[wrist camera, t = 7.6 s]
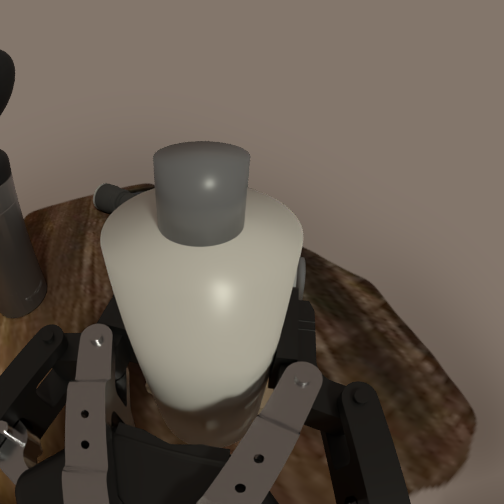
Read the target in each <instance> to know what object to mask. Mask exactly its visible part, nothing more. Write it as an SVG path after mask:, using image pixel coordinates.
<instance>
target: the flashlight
mask: <svg viewBox="0 0 504 504" xmlns="http://www.w3.org/2000/svg"><path fill="white" fill-rule="evenodd" d="M134 196H136V195H134V194H131V193H129V191H127V190H124V189H121V188H119V187H118V186H115V185H111V184H107V183H103V184H101V185H100V186H99V187H98V188H97V189H96V191H95V193H94V197H93V202H94V205H95V207H96V208H97V209H99V210H101V211H104V212H107V213H112V212H113V211H114V210H116V209H117V208H118V207H119V206H120V205H122V204H123V203H124V202H126V201H127V200H129V199H131V198H133V197H134Z"/></svg>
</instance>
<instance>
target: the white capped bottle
mask: <svg viewBox="0 0 504 504" xmlns="http://www.w3.org/2000/svg"><path fill="white" fill-rule="evenodd" d="M153 161H154V180H155V188H154V189H151V190H148V191H146V192H143V193H141V194H139V195H136V196H134V197H133V198H131V199H129V200H127V201H126V202H124V203H123V204H122V205H120V206H119V207H118V208H117V209H116V210H114V211H113V212H112V214H111V215H110V216H109V217H108V219H107V220H106V222H105V224H104V226H103V229H102V231H101V238H100V240H101V248H102V252H103V256H104V260H105V264H106V268H107V271H108V275H109V278H110V282H111V285H112V289H113V292H114V295H115V299H116V302H117V305H118V308H119V311H120V314H121V317H122V320H123V323H124V326H125V329H126V331H127V334H128V337H129V340H130V342H131V345H132V348H133V350H134V353H135V355H136V358H137V360H138V363H139V365H140V368H141V370H142V372H143V375H144V377H145V380H146V382H147V384H148V386H149V389H150V391H151V393H152V395H153V397H154V400H155V402H156V404H157V406H158V408H159V410H160V412H161V414H162V416H163V418H164V420H165V422H166V424H167V426H168V427H169V428H170V430H171V431H172V432H173V433H174V434H175V435H176V436H177V437H179V438H180V439H181V440H183V441H185V442H186V443H189V444H191V445H192V444H202V445H207V446H212V447H218V448H220V447H225V446H228V445H231V444H233V443H235V442H237V441H239V440H240V439H242V438H243V437H244V435H245V434H246V432H247V431H248V429H249V427H250V426H251V424H252V423H253V421H254V420H255V418H256V417H257V416H258V412H259V409H260V406H261V402H262V399H263V396H264V392H265V389H266V385H267V382H268V378H269V374H270V371H271V367H272V363H273V360H274V356H275V352H276V349H277V345H278V342H279V339H280V335H281V331H282V327H283V324H284V320H285V316H286V312H287V308H288V304H289V300H290V296H291V292H292V288H293V284H294V279H295V275H296V271H297V267H298V263H299V258H300V254H301V249H302V245H303V230H302V227H301V224H300V222H299V220H298V219H297V217H296V216H295V214H294V213H293V212H292V211H291V210H290V209H289V208H288V207H287V206H285V205H284V204H283V203H281V202H280V201H278V200H276V199H275V198H273V197H271V196H269V195H267V194H265V193H262V192H260V191H257V190H254V189H251V188H248V176H249V165H250V154H249V153H248V152H247V151H246V150H244V149H243V148H240V147H238V146H235V145H231V144H226V143H220V142H209V141H197V142H185V143H179V144H174V145H170V146H167V147H164V148H162V149H160V150H158V151H157V152H156V153H155V154H154V156H153Z"/></svg>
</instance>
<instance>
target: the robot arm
mask: <svg viewBox="0 0 504 504" xmlns="http://www.w3.org/2000/svg"><path fill="white" fill-rule="evenodd" d="M14 81H15V67H14V63H13V60H12V59H11V57H10V56H9V55H8V54H7V53H6V52H4V51H2V50H0V115H1V114H2V112H3V111H4V109H5V107H6V105H7V103H8V101H9V99H10V96H11V94H12V90H13V86H14ZM46 291H47V283H46V281H45V279H44V276H43V274H42V271H41V269H40V266H39V263H38V261H37V258H36V255H35V252H34V250H33V247H32V244H31V241H30V238H29V235H28V232H27V229H26V226H25V223H24V219H23V216H22V213H21V209H20V205H19V202H18V198H17V194H16V190H15V186H14V182H13V177H12V173H11V168H10V163H9V158H8V156H7V154H6V153H5V152H4V151H2V150H1V149H0V313H1V314H2V315H4V316H6V317H8V318H18V317H22V316H24V315H26V314H28V313H30V312H31V311H33V310H34V309H35V308H36V307H37V306H38V305H39V304H40V303H41V302H42V300H43V298H44V297H45V294H46ZM129 361H130V362H134V363H138V360H137V358H136V355H135V353H134V350H133V348H132V345H131V342H130V340H129V337H128V334H127V331H126V329H125V326H124V323H123V320H122V317H121V314H120V311H119V308H118V305H117V302H116V299H115V295H113V298H111V300H110V302H109V303H108V305H107V307H106V309H105V310H104V312H103V314H102V315H101V317H100V319H99V320H98V322H97V324H93V325H91V326H89V327H87V328H86V329H85V330H84V331H83V332H82V333H63V331H62V329H61V328H60V327H59V326H57V325H47V326H45V327H43V328H42V329H40V330H39V332H38V333H37V334H36V335H35V336H34V337H33V338H32V339H31V340H30V341H29V343H28V344H27V345H26V346H25V347H24V348H23V349H22V351H21V352H20V353H19V354H18V355H17V356H16V358H15V359H14V360H13V361H12V362H11V363H10V365H9V366H8V367H7V368H6V369H5V371H4V372H3V373H2V374H1V376H0V468H1V470H2V471H3V472H4V473H5V474H6V475H7V476H8V477H9V478H10V480H11V481H12V482H13V483H14V484H15V485H16V487H15V496H16V501H17V504H279V503H278V502H277V501H276V499H275V498H274V496H273V495H272V494H271V492H270V491H269V490H270V489H271V487H272V485H273V483H274V482H275V480H276V478H277V477H278V475H279V473H280V471H281V469H282V468H283V466H284V464H285V462H286V460H287V459H288V457H289V455H290V453H291V451H292V449H293V447H294V445H295V443H296V441H297V439H298V437H299V435H300V431H301V428H302V426H303V424H304V425H307V426H309V427H312V428H315V429H317V430H320V431H321V436H322V440H323V444H324V449H325V453H326V458H327V462H328V467H329V471H330V476H331V480H332V485H333V490H334V494H335V499H336V504H411V503H410V499H409V495H408V491H407V488H406V484H405V480H404V477H403V473H402V470H401V467H400V463H399V460H398V457H397V453H396V450H395V447H394V444H393V440H392V437H391V434H390V431H389V428H388V425H387V422H386V419H385V416H384V413H383V410H382V407H381V404H380V402H379V399H378V396H377V393H376V391H375V390H374V389H373V388H372V387H371V386H370V385H369V384H367V383H364V382H352V383H350V384H348V385H347V386H344V385H341V384H339V383H336V382H333V381H331V380H329V379H327V378H326V377H324V376H323V375H322V374H321V372H320V371H319V369H318V367H317V364H316V338H315V314H314V309H313V308H312V306H311V304H310V302H309V301H303V300H299V288H298V287H293V288H292V292H291V296H290V300H289V304H288V308H287V312H286V316H285V320H284V324H283V327H282V331H281V335H280V339H279V342H278V345H277V349H276V352H275V356H274V360H273V363H272V367H271V371H270V374H269V378H268V388H270V389H273V393H272V394H271V396H270V398H269V399H268V401H267V403H266V404H265V406H264V408H263V409H262V411H261V413H260V414H258V416H257V417H256V418H255V420H254V421H253V423H252V424H251V426H250V427H249V429H248V431H247V432H246V434H245V435H244V437H243V438H242V440H241V442H240V443H239V445H238V446H237V448H236V449H235V451H234V452H233V454H232V455H230V449H224V448H218V447H212V446H207V445H202V444H192V445H176V444H169V443H166V442H165V441H163V440H161V439H159V438H157V437H156V436H154V435H152V434H150V433H148V432H147V431H145V430H143V429H139V428H136V427H135V425H134V420H133V417H132V414H131V408H130V387H129V370H128V367H127V366H128V363H129ZM51 368H52V370H51V372H50V373H49V374H48V375H47V376H46V378H45V379H44V380H43V382H42V383H41V384H40V385H39V387H38V388H37V386H38V384H39V383H40V382H41V380H42V379H43V378H44V377H45V375H46V374H47V373H48V372H49V370H50V369H51ZM36 388H37V389H36ZM65 404H66V419H65V449H63V450H62V451H60V452H58V453H56V454H55V455H53V456H51V457H49V458H47V459H46V460H44V461H42V462H40V463H38V464H37V458H38V456H41V455H42V452H43V450H42V447H41V443H40V439H41V437H42V436H43V435H44V433H45V432H46V430H47V429H48V427H49V426H50V425H51V423H52V422H53V420H54V419H55V418H56V416H57V415H58V413H59V412H60V411H61V409H62V408H63V406H64V405H65Z"/></svg>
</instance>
